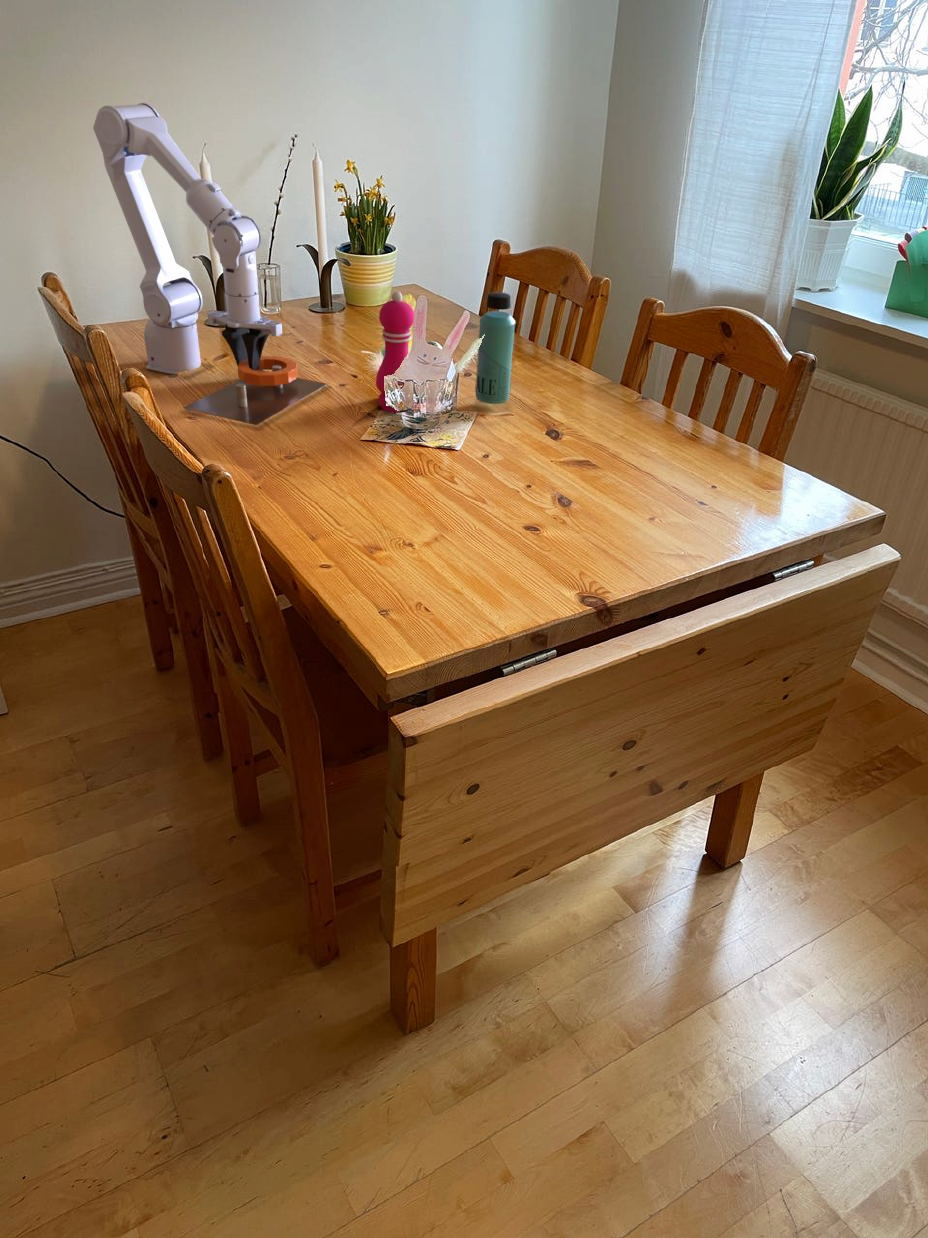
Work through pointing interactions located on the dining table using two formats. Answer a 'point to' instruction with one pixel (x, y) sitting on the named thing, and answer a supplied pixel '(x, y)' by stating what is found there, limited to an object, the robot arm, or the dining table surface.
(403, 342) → the pepper mill
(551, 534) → the dining table surface
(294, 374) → the ring
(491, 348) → the beverage bottle
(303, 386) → the peg board
